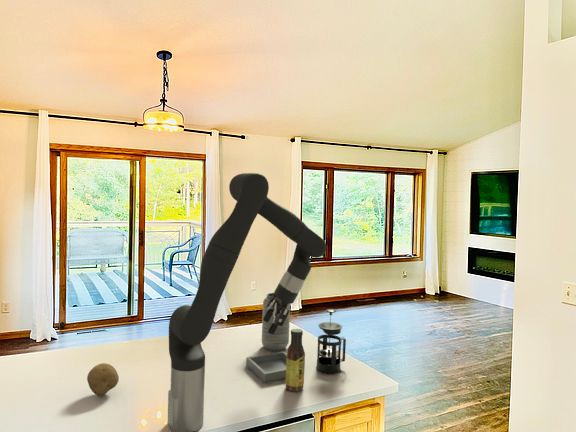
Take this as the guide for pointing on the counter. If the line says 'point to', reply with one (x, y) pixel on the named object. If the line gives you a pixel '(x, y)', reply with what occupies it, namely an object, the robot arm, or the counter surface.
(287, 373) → the sauce bottle
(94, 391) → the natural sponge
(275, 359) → the tray
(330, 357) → the french press
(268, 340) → the vase
